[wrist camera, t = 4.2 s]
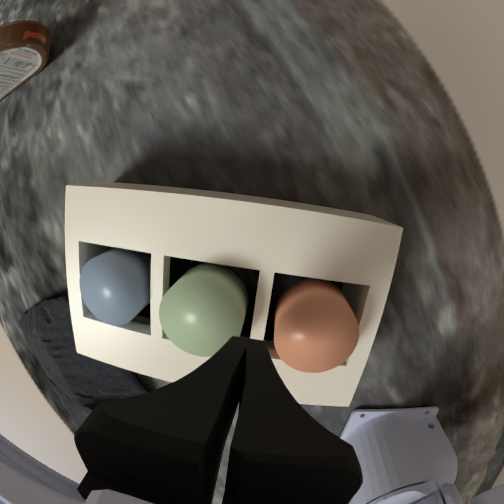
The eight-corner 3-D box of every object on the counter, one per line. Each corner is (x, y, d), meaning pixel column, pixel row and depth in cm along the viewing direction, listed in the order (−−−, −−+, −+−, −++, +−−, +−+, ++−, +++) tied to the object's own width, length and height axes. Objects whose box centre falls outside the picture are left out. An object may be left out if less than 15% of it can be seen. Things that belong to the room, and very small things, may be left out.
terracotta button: (354, 283, 15) (369, 304, 12) (337, 347, 16) (346, 375, 13) (281, 273, 15) (281, 292, 13) (270, 339, 16) (267, 367, 14)
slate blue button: (160, 250, 17) (139, 262, 14) (158, 312, 18) (140, 332, 15) (103, 240, 17) (77, 251, 14) (105, 299, 18) (82, 316, 15)
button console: (370, 214, 18) (403, 227, 13) (336, 359, 21) (348, 406, 16) (113, 182, 19) (66, 185, 14) (113, 319, 22) (76, 352, 17)
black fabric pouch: (103, 272, 22) (69, 292, 17) (213, 456, 26) (204, 490, 21) (16, 311, 24) (-12, 328, 20) (111, 456, 28) (97, 480, 24)
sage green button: (252, 269, 15) (247, 287, 13) (243, 335, 16) (237, 363, 14) (179, 257, 16) (159, 273, 13) (176, 323, 17) (159, 347, 14)
